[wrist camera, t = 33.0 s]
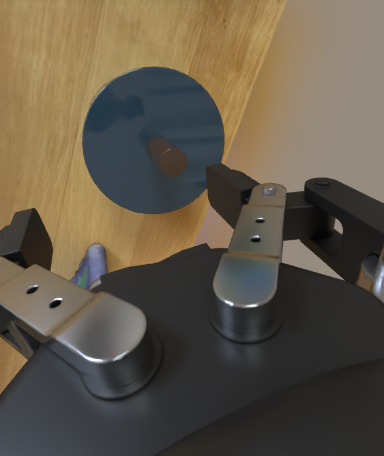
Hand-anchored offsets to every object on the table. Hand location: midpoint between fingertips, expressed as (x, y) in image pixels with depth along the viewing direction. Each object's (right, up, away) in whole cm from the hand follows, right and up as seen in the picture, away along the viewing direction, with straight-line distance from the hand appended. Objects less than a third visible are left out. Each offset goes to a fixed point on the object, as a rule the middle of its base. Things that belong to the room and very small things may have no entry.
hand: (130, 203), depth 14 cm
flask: (-13, -7, +29) cm, 33 cm away
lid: (0, +7, +14) cm, 16 cm away
